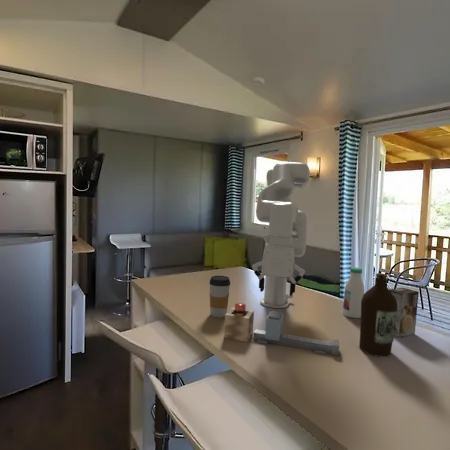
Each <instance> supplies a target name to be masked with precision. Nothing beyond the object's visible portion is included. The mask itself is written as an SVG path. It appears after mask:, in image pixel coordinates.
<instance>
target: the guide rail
mask: <svg viewBox="0 0 450 450" xmlns="http://www.w3.org/2000/svg"><path fill="white" fill-rule="evenodd" d="M265 333H266V330H264V329H263V330H262V329H257V328H256V329H255V330H253V338H252V339H253V341H258V342H257V343H259V344H264V345H268V344H269V343H271V344H274V345H281V346H286V347H291V348H292V347H293V348H298V349H303V350H309V351H314V353H315V354H319V355H326V354H330V355H331V356H334V357H339V352H340V340H339V339H338V338H337V339H335V338H332V340H331V341H329V340H328V341H327V340H321V339H316V338H309V337H304V336H297V335H293V334H286V333H282V334H281V335H280V340H279V341H277V340H271V339H266V336H265Z"/></svg>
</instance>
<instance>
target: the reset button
mask: <svg viewBox="0 0 450 450" xmlns="http://www.w3.org/2000/svg"><path fill="white" fill-rule="evenodd" d="M234 308H235V312H236V313H237V315H241V316H243V313H245V309H246V308H247V307H246V304H245V302H244V303H242V302H236V303H234Z"/></svg>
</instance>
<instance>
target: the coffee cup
mask: <svg viewBox="0 0 450 450" xmlns="http://www.w3.org/2000/svg"><path fill="white" fill-rule="evenodd" d="M230 285H231V280H230V277H229V276H226V275H213V276H211V277H210V279H209V307H210V312H209V313H210V315H211V317H213V318H225V314H226V313H227V312H228V306H229V295H230V288H231V287H230Z"/></svg>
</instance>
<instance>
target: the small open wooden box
mask: <svg viewBox="0 0 450 450" xmlns="http://www.w3.org/2000/svg"><path fill="white" fill-rule="evenodd" d="M254 317H255V310H252V309H246V308H245V313H243V316H241V315H237V313H236V312H235V307H231V308H230V309H229V310H227V313H226V314H225V316H224V331H223V333H224V334H223V338H224V339H229V340H235V341H240V342H246V343H247V342H249V339H250V338H251V336H252V335H253V334H254Z"/></svg>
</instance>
